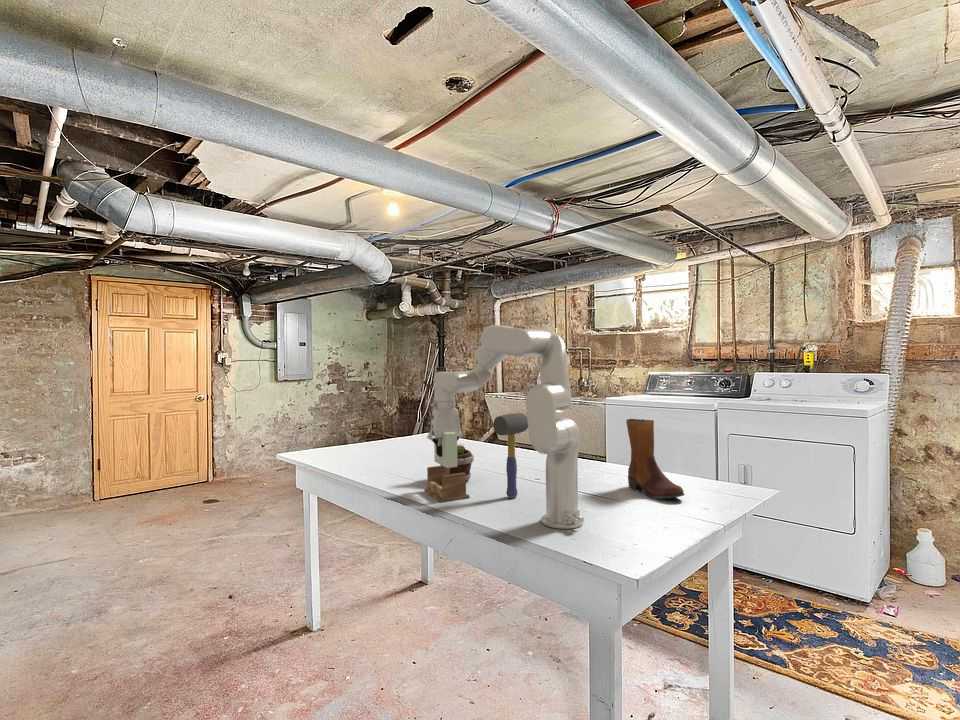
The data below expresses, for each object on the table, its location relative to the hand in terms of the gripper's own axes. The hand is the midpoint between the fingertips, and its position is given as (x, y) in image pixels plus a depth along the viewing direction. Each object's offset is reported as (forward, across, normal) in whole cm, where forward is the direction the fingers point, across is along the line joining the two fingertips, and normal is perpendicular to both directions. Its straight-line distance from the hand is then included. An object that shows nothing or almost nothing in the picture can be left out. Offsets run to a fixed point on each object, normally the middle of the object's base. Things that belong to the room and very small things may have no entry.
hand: (445, 454), depth 184 cm
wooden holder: (+15, 0, 0) cm, 15 cm away
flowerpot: (+15, +11, +16) cm, 24 cm away
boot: (+15, +66, -36) cm, 77 cm away
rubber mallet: (+15, +19, -15) cm, 28 cm away
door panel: (+3, 0, 0) cm, 3 cm away
